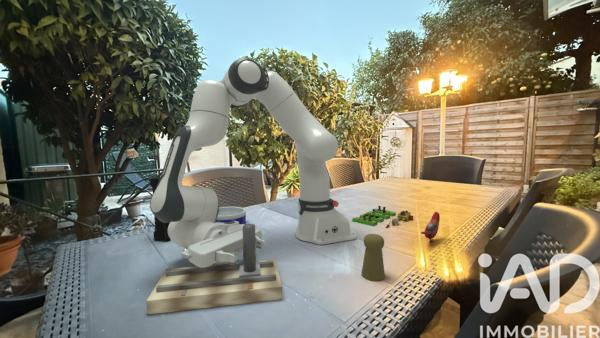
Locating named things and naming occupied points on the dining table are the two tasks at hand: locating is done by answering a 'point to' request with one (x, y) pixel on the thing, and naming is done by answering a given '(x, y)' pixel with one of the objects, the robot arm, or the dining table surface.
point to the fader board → (213, 287)
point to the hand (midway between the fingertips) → (250, 251)
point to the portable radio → (160, 227)
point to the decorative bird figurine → (432, 227)
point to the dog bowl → (231, 215)
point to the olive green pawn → (373, 258)
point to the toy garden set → (382, 217)
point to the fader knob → (249, 253)
